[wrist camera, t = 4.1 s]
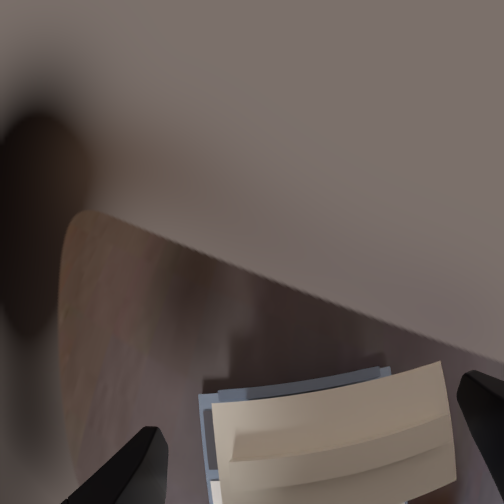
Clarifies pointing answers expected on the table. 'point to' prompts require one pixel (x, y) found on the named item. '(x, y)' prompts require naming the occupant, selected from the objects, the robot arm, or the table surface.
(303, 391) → the switch housing
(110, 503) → the robot arm
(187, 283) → the table surface
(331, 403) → the switch tab
